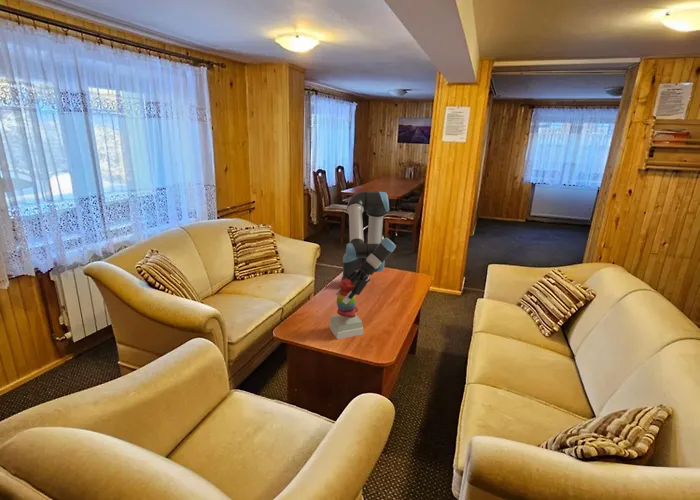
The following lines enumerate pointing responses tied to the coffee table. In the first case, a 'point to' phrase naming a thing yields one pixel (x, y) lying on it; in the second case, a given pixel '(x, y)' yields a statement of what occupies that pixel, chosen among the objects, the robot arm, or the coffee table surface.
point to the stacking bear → (345, 287)
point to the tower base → (346, 333)
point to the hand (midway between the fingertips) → (340, 298)
